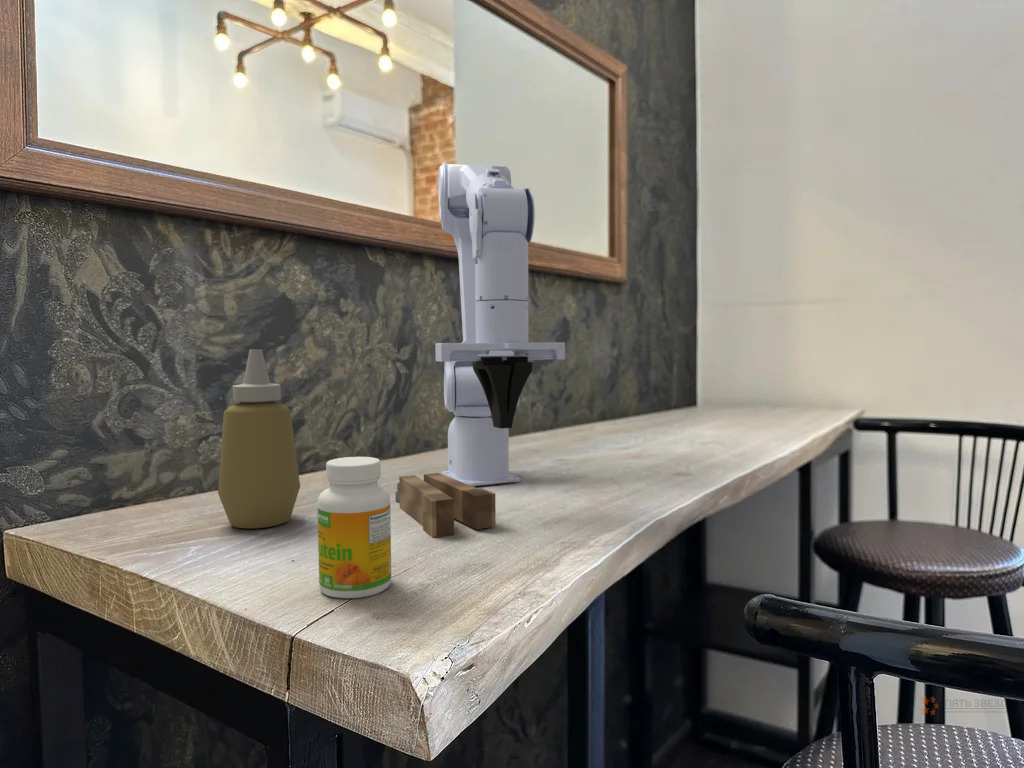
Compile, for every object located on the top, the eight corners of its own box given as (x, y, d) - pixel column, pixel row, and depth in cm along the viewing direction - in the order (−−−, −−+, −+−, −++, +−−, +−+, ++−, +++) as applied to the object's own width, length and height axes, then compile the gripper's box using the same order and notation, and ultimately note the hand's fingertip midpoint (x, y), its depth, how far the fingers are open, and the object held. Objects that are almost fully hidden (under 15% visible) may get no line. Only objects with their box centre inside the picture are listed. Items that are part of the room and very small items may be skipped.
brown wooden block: (385, 498, 81) (385, 469, 81) (421, 495, 83) (420, 466, 82) (432, 537, 65) (431, 501, 65) (475, 531, 67) (474, 496, 66)
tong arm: (393, 497, 81) (392, 469, 81) (426, 493, 83) (425, 466, 83) (457, 532, 66) (457, 498, 66) (495, 526, 68) (495, 493, 68)
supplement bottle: (303, 592, 51) (300, 463, 50) (352, 571, 55) (349, 453, 55) (359, 605, 48) (357, 469, 47) (405, 581, 53) (403, 458, 52)
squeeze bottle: (274, 535, 66) (269, 349, 65) (200, 531, 67) (194, 350, 66) (315, 514, 74) (311, 348, 73) (248, 511, 75) (243, 349, 74)
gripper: (450, 298, 66) (452, 436, 67) (579, 301, 72) (579, 427, 73) (428, 302, 73) (430, 427, 74) (548, 304, 79) (548, 420, 80)
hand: (502, 427), depth 74 cm, fingers closed
